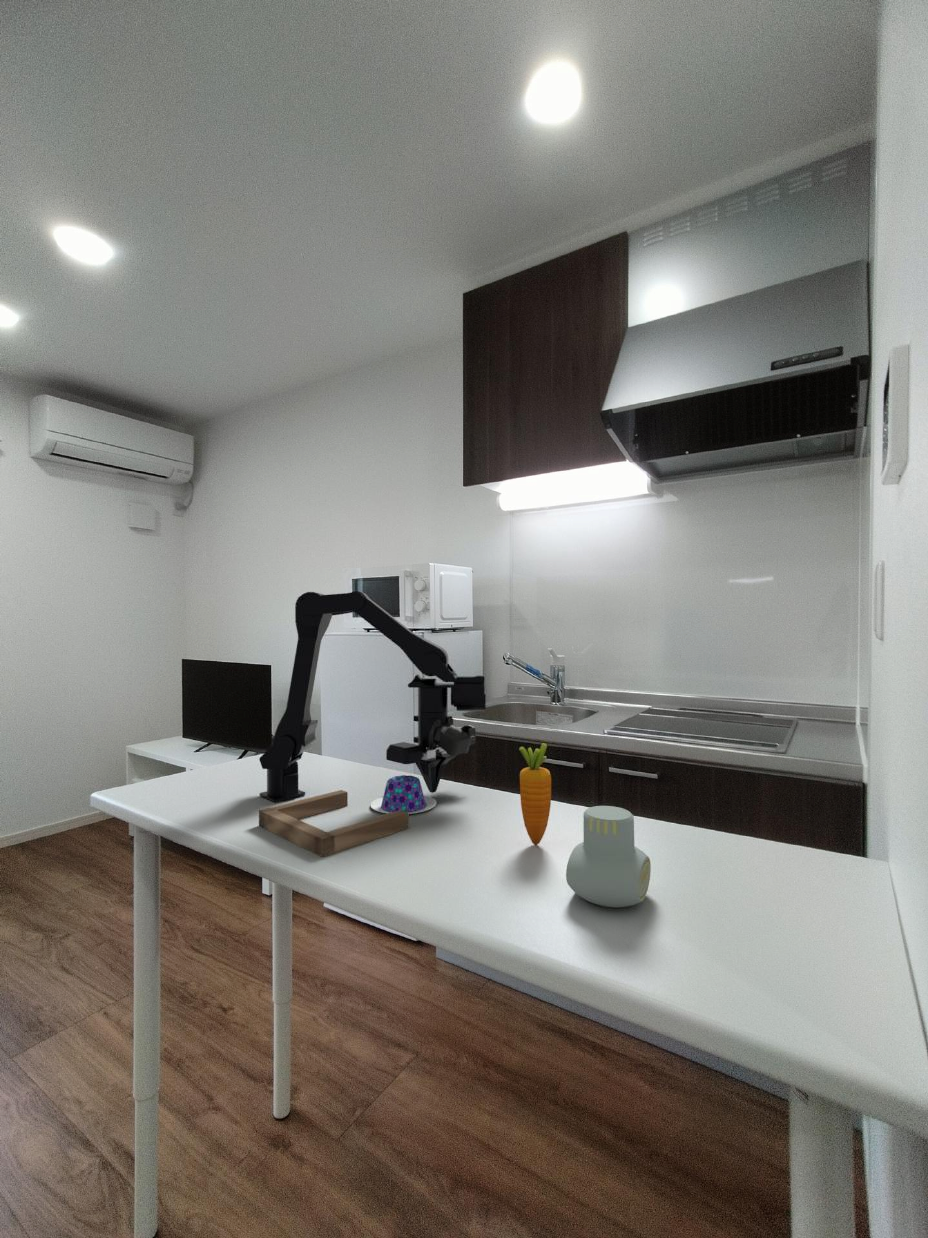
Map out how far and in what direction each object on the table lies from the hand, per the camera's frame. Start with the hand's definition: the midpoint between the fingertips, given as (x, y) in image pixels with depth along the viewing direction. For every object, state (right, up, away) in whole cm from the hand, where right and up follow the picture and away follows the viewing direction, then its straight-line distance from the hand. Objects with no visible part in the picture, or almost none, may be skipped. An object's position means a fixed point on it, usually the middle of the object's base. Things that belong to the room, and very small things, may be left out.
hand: (432, 792), depth 108 cm
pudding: (-5, -1, -6) cm, 8 cm away
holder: (-15, -1, -16) cm, 21 cm away
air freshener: (+23, 0, -41) cm, 47 cm away
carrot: (+17, 0, -25) cm, 30 cm away
